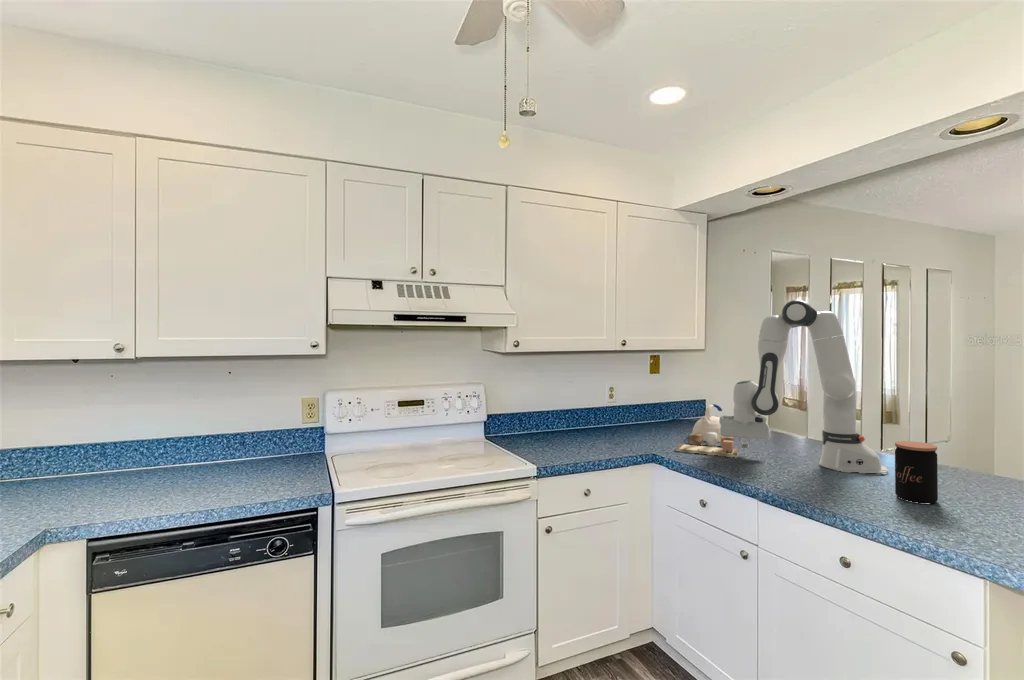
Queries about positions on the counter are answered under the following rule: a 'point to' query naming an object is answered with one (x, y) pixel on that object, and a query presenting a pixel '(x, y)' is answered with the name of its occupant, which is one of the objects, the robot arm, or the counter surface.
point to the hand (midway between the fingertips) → (744, 447)
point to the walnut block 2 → (726, 439)
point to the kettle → (708, 424)
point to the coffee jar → (916, 471)
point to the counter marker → (728, 446)
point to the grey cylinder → (711, 439)
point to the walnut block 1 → (696, 439)
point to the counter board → (707, 450)
